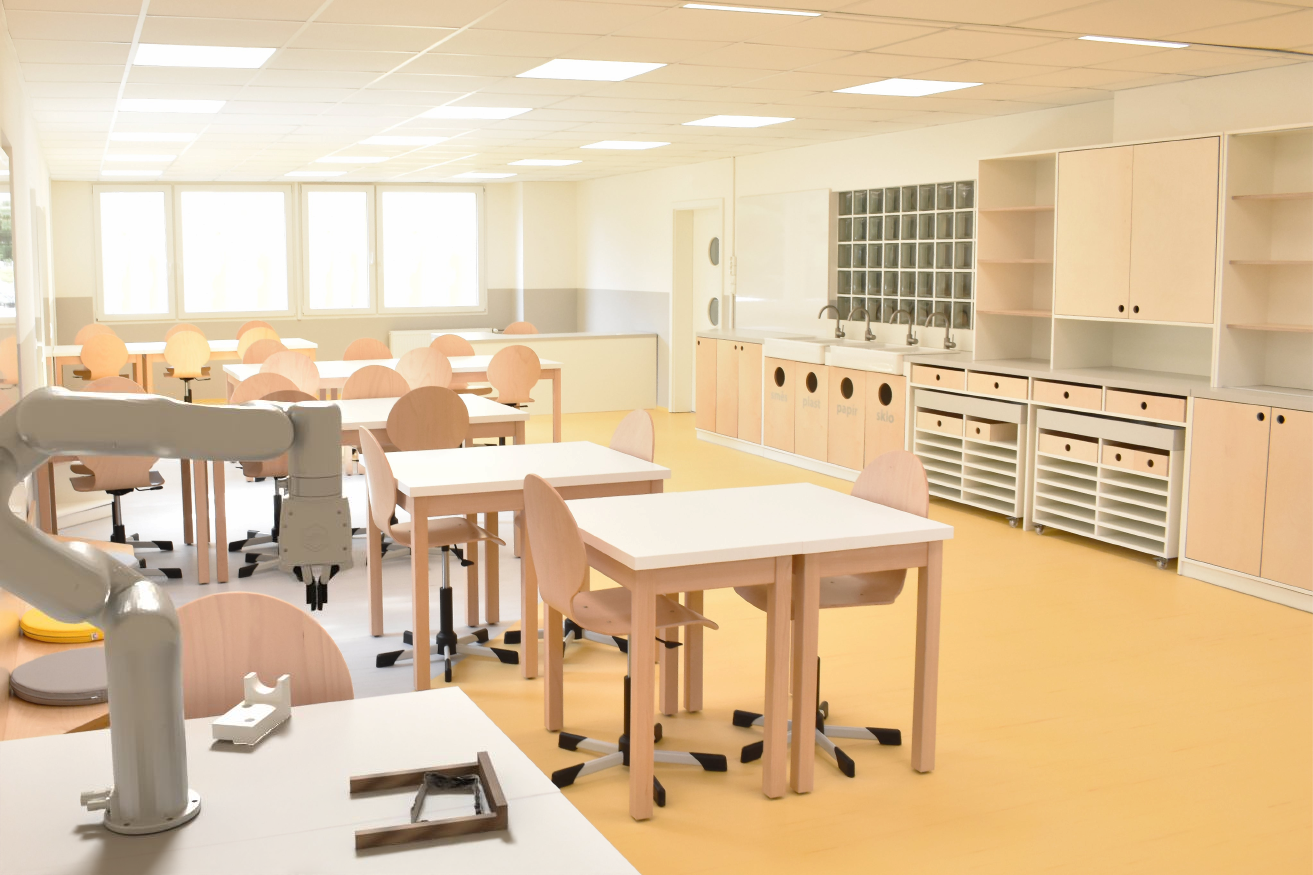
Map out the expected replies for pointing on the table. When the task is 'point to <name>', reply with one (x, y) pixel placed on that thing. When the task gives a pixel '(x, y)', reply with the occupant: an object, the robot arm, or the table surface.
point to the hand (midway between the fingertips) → (317, 607)
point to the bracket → (255, 711)
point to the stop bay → (436, 827)
